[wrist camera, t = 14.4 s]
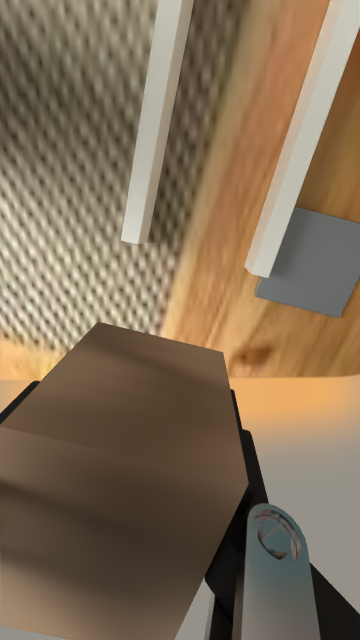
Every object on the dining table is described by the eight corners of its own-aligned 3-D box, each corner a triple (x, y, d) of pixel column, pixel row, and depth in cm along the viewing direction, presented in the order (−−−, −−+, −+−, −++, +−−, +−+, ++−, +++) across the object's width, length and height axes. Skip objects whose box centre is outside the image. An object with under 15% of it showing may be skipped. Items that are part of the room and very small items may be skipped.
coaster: (253, 294, 22) (255, 296, 22) (284, 205, 20) (288, 204, 19) (334, 314, 22) (339, 318, 22) (375, 229, 20) (382, 229, 19)
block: (78, 464, 12) (1, 625, 7) (97, 321, 9) (-2, 426, 5) (177, 487, 12) (164, 659, 7) (223, 352, 9) (248, 484, 5)
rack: (133, 237, 22) (120, 240, 18) (192, -108, 15) (190, -202, 12) (258, 269, 22) (268, 278, 18) (372, -60, 15) (419, -139, 12)
